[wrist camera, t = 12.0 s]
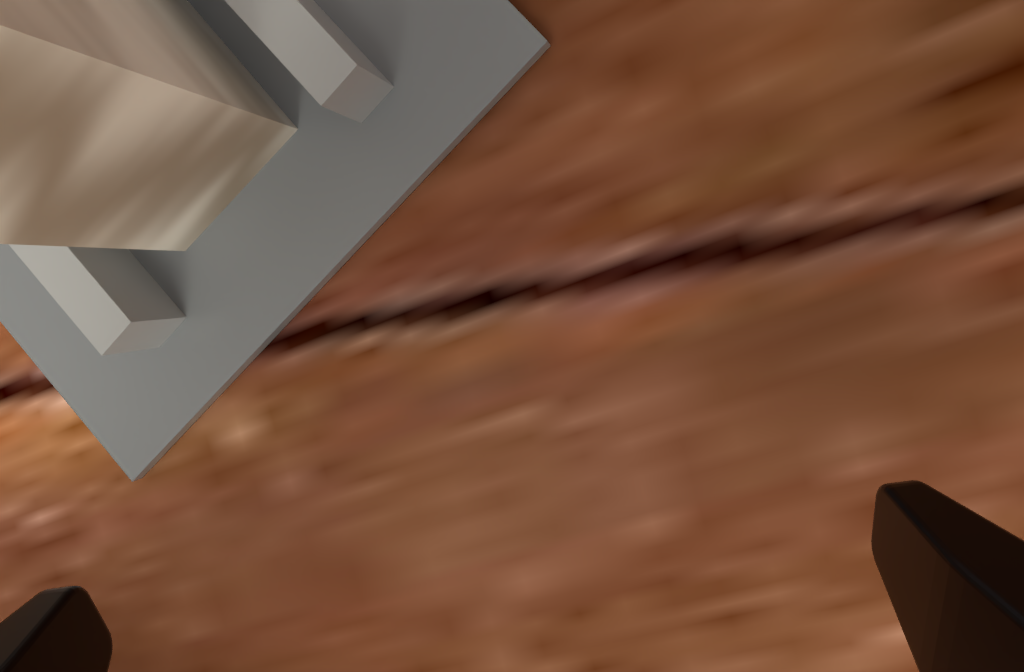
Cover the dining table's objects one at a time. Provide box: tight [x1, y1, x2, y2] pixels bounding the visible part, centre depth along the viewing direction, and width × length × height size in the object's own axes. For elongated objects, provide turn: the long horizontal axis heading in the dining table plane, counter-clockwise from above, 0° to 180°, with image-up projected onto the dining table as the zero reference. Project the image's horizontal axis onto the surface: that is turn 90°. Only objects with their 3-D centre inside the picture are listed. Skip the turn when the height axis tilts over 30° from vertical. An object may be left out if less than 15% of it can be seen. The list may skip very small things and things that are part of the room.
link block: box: [0, 0, 298, 251], centre depth 15 cm, size 4×5×11 cm
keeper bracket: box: [0, 0, 551, 481], centre depth 19 cm, size 16×10×4 cm, turn 134°
